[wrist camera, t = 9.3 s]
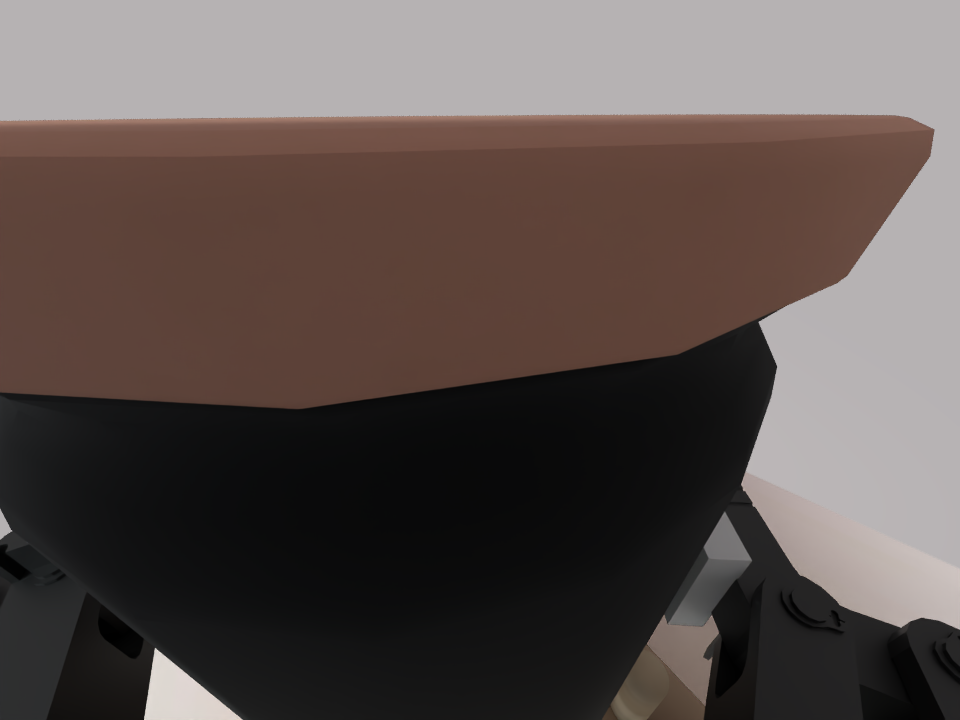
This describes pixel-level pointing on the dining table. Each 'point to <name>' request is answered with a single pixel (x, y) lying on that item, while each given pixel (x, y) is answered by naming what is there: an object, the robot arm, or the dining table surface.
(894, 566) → the dining table surface
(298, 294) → the coffee jar
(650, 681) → the pegged base plate
